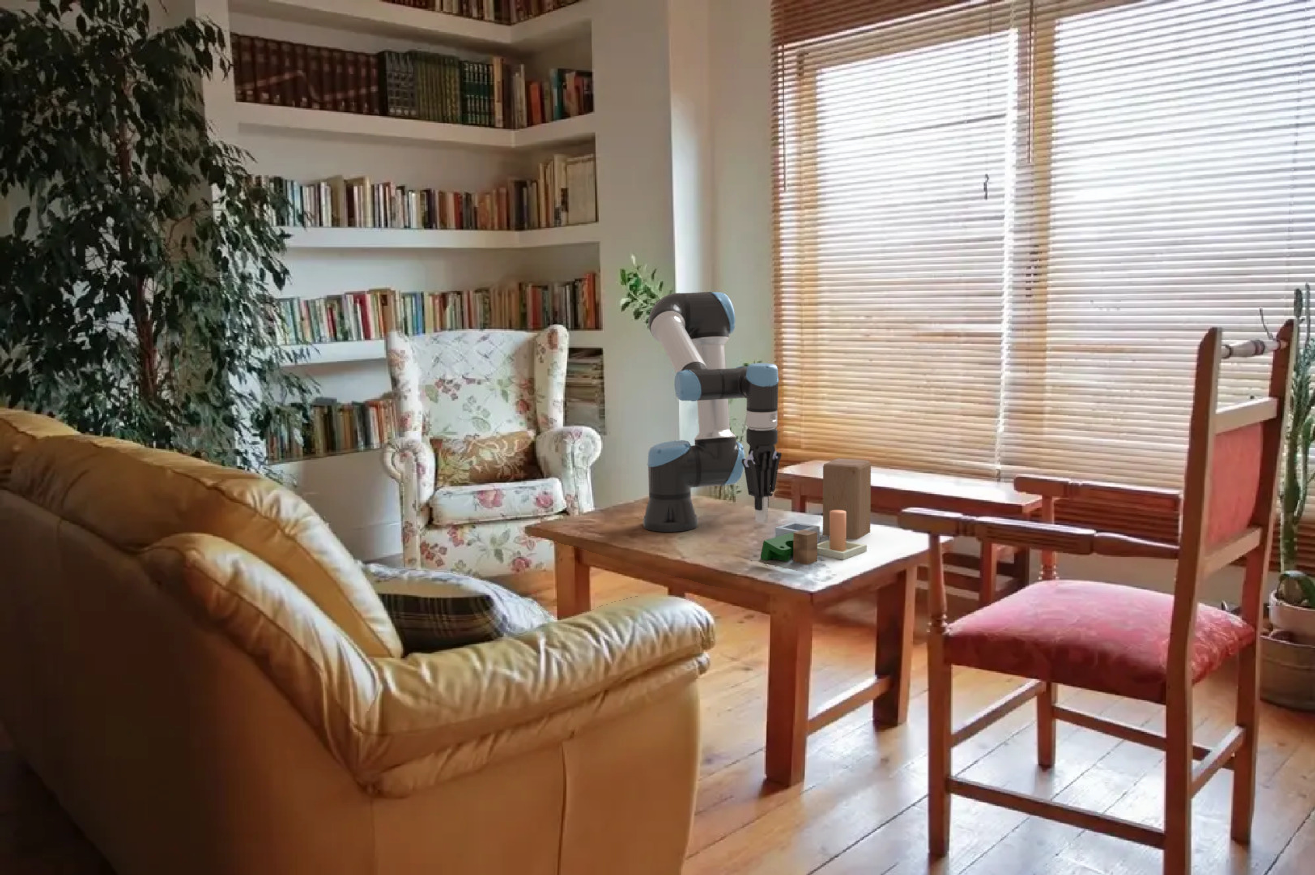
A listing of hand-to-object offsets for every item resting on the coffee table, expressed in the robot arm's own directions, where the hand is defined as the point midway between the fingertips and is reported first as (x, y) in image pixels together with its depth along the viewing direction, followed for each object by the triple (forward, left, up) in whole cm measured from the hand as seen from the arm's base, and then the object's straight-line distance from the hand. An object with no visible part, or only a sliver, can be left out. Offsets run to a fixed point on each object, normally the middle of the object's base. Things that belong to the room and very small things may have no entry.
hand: (761, 522), depth 254 cm
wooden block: (+6, +29, -9) cm, 30 cm away
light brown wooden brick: (+14, 0, -8) cm, 16 cm away
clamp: (+8, 0, -9) cm, 12 cm away
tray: (+15, +12, -8) cm, 20 cm away
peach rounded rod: (+15, +12, -7) cm, 20 cm away
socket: (+2, +13, -8) cm, 15 cm away
